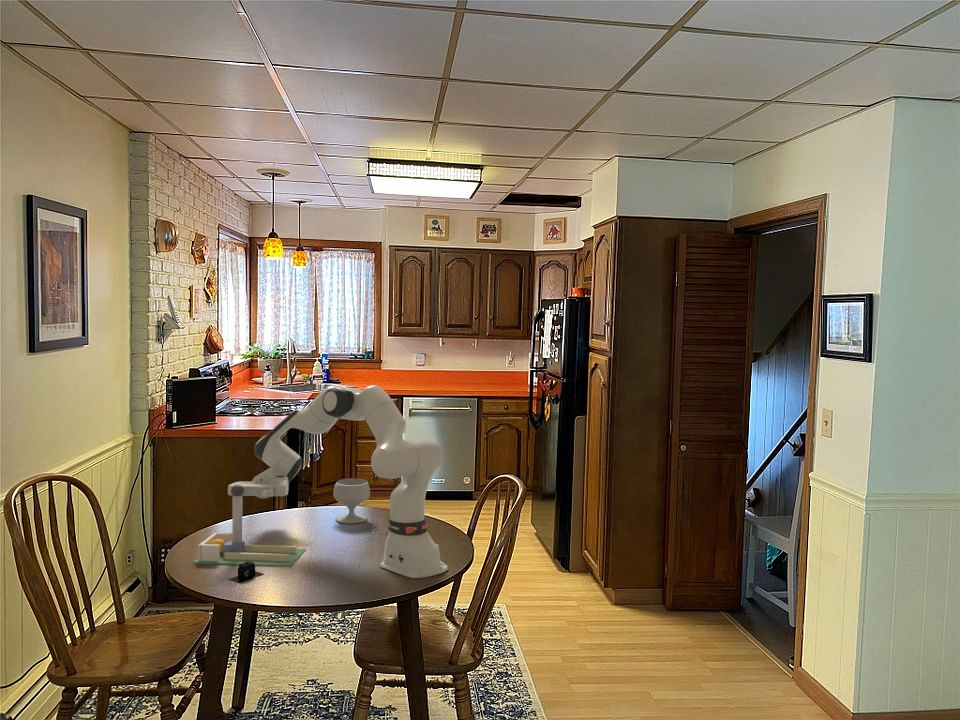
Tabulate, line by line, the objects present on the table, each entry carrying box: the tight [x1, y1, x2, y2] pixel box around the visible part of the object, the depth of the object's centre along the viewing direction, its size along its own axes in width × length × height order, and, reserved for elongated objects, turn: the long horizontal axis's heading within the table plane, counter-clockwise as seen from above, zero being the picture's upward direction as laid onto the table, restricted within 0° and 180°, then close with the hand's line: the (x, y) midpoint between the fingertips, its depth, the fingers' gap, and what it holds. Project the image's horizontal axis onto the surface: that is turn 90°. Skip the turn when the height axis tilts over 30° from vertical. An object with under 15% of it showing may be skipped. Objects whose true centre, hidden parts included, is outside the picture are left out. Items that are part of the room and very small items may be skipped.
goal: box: [197, 532, 298, 561], centre depth 229 cm, size 28×13×5 cm, turn 88°
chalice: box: [332, 477, 371, 525], centre depth 273 cm, size 14×14×15 cm
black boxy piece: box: [227, 561, 265, 584], centre depth 212 cm, size 12×7×5 cm, turn 147°
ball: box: [211, 539, 225, 554], centre depth 230 cm, size 5×5×5 cm
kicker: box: [224, 485, 246, 553], centre depth 229 cm, size 6×5×22 cm
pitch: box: [192, 548, 306, 568], centre depth 229 cm, size 31×16×1 cm, turn 88°
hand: (251, 494), depth 240 cm, fingers open, 8 cm apart
